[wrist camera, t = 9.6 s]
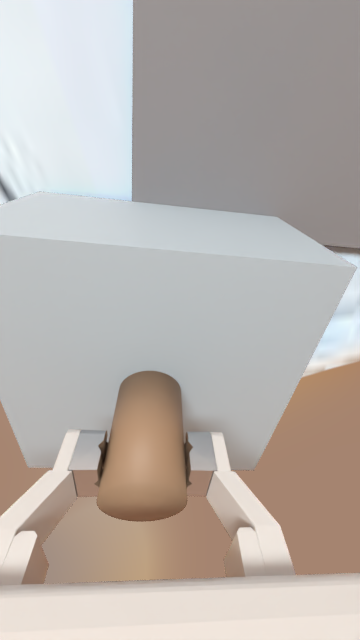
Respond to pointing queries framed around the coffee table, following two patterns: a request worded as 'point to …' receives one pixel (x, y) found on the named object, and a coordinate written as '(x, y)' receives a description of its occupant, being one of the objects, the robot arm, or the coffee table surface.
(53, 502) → the robot arm
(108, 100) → the coffee table surface
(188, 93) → the mat
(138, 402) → the cover
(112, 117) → the coffee table surface
